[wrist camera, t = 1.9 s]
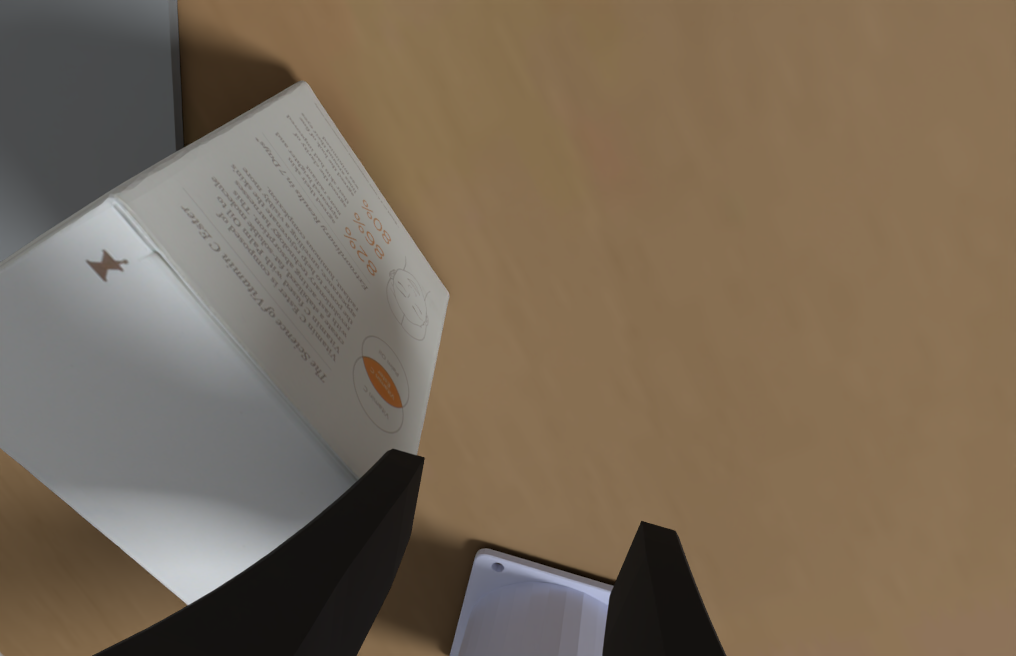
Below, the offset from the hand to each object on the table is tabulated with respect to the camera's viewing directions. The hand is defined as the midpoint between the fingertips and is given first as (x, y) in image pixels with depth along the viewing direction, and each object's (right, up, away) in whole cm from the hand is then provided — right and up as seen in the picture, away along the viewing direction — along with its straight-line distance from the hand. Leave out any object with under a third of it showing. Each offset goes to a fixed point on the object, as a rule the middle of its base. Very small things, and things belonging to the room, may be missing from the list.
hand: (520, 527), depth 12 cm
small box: (-6, +7, +9) cm, 13 cm away
